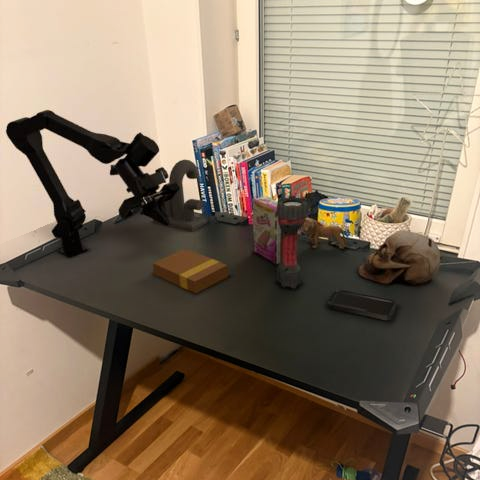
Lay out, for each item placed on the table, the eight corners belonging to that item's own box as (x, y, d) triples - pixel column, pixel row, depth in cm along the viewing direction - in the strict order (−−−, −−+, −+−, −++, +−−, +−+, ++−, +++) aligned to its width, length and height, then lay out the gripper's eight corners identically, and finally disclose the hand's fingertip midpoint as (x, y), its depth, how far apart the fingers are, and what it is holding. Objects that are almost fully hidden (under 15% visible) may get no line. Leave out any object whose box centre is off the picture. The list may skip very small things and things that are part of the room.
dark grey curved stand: (221, 216, 171) (217, 158, 160) (194, 231, 160) (188, 170, 149) (180, 207, 179) (174, 152, 168) (152, 222, 168) (144, 163, 157)
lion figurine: (300, 250, 145) (301, 221, 140) (299, 242, 149) (300, 214, 144) (350, 249, 144) (353, 220, 139) (347, 242, 148) (350, 214, 143)
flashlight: (298, 294, 123) (301, 207, 110) (270, 288, 126) (270, 202, 114) (309, 281, 128) (314, 196, 116) (283, 275, 132) (284, 192, 119)
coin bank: (353, 268, 133) (364, 222, 126) (408, 265, 138) (421, 220, 130) (381, 297, 121) (395, 248, 113) (441, 293, 125) (457, 245, 118)
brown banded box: (152, 263, 133) (194, 281, 123) (185, 248, 140) (227, 264, 130) (154, 274, 135) (195, 293, 125) (186, 259, 142) (228, 276, 132)
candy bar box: (252, 252, 145) (251, 198, 136) (265, 248, 147) (265, 194, 138) (275, 265, 137) (275, 209, 128) (289, 260, 139) (290, 205, 130)
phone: (336, 289, 122) (397, 301, 116) (336, 292, 123) (397, 305, 117) (326, 303, 116) (390, 317, 110) (326, 307, 117) (389, 321, 111)
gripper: (117, 168, 119) (155, 220, 119) (171, 151, 131) (205, 198, 131) (103, 194, 127) (138, 242, 128) (154, 176, 140) (186, 220, 140)
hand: (168, 225), depth 131 cm, fingers closed
